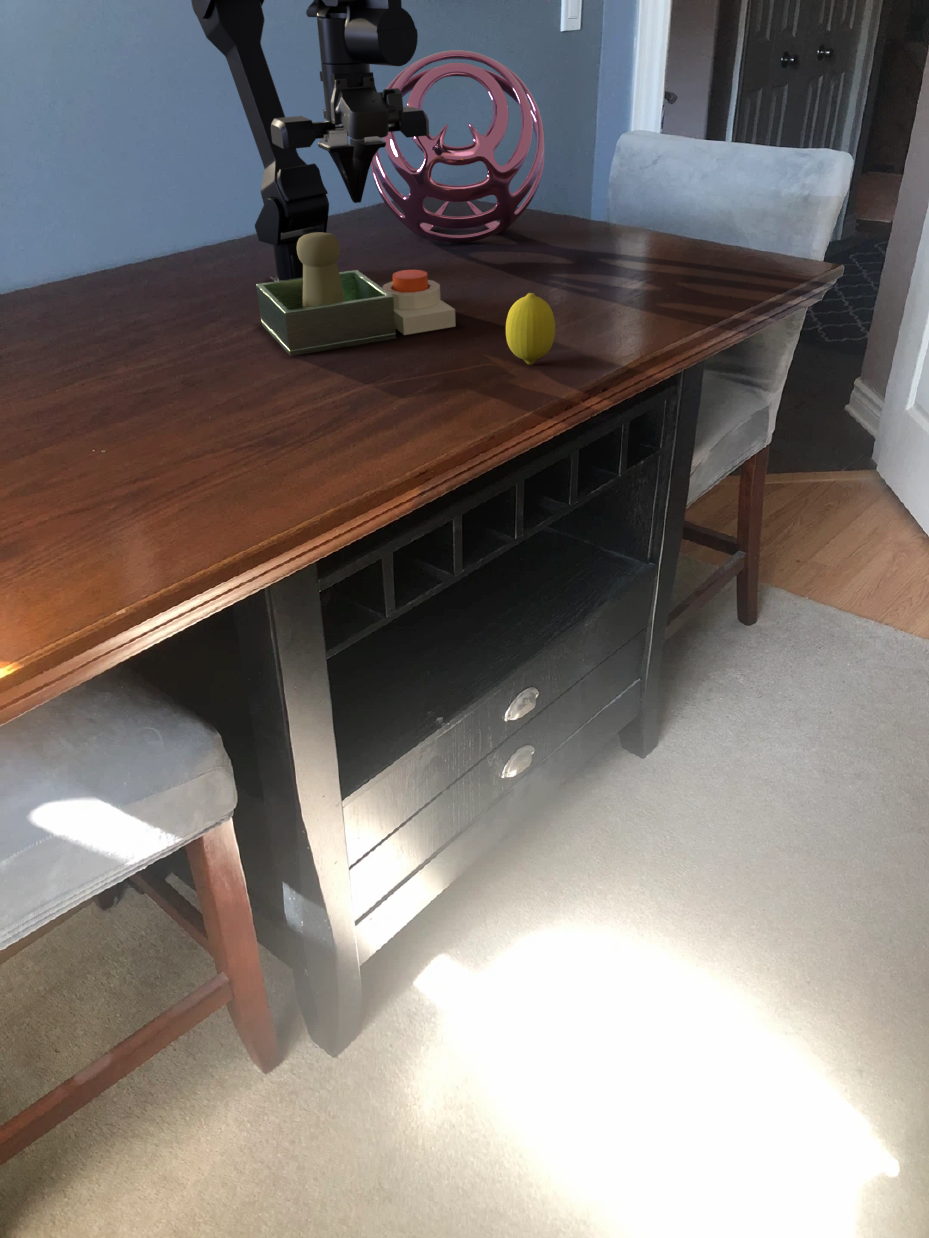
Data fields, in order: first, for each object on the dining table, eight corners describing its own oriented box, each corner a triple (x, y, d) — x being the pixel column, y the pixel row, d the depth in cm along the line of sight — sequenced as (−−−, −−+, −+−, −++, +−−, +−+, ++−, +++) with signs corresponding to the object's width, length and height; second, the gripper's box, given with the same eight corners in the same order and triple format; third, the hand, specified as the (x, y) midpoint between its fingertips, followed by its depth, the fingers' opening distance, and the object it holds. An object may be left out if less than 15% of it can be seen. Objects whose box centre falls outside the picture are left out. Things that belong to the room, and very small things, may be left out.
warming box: (261, 325, 127) (255, 284, 124) (360, 309, 131) (356, 269, 129) (290, 356, 117) (284, 312, 114) (396, 338, 121) (393, 296, 118)
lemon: (521, 376, 109) (521, 303, 105) (497, 361, 114) (496, 291, 109) (563, 367, 112) (565, 295, 107) (538, 353, 116) (539, 283, 111)
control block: (370, 310, 131) (367, 279, 129) (421, 302, 134) (419, 271, 131) (402, 335, 122) (400, 303, 120) (456, 326, 125) (455, 294, 122)
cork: (293, 324, 125) (282, 233, 118) (335, 315, 127) (326, 225, 121) (316, 336, 120) (306, 243, 114) (359, 326, 123) (351, 234, 117)
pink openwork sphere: (399, 88, 171) (388, -11, 144) (555, 130, 171) (574, 39, 144) (358, 245, 171) (340, 175, 144) (514, 287, 171) (526, 225, 144)
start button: (388, 288, 127) (387, 272, 126) (420, 283, 128) (419, 268, 127) (401, 296, 123) (400, 280, 122) (433, 291, 125) (432, 276, 124)
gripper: (287, 73, 108) (304, 223, 117) (444, 62, 114) (449, 205, 123) (261, 65, 116) (279, 206, 125) (408, 55, 123) (415, 190, 131)
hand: (356, 202), depth 126 cm, fingers closed
